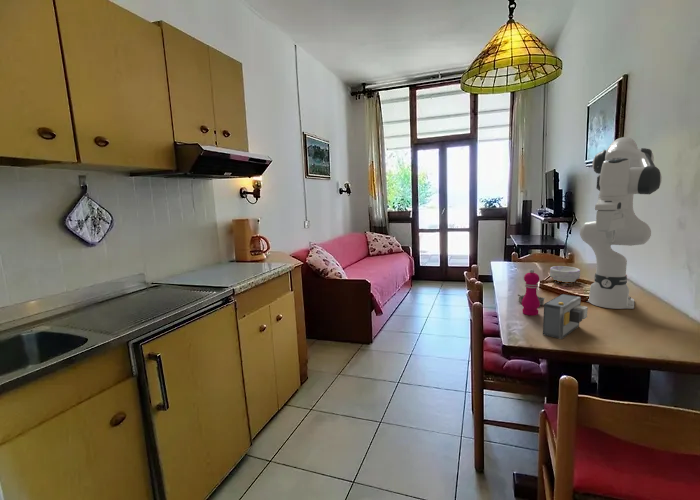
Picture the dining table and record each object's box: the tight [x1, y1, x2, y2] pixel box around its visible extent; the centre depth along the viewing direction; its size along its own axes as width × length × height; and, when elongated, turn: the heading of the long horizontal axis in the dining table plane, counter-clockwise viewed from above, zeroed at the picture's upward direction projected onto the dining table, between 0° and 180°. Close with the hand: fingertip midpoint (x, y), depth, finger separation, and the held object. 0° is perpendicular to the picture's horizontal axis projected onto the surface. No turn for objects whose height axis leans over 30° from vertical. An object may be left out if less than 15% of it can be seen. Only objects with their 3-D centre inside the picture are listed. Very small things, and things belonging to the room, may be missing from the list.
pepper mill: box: [521, 268, 541, 317], centre depth 157 cm, size 7×7×20 cm
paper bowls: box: [549, 265, 581, 283], centre depth 210 cm, size 15×15×8 cm
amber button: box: [564, 312, 570, 325], centre depth 133 cm, size 4×4×4 cm
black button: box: [569, 308, 583, 324], centre depth 134 cm, size 4×4×4 cm
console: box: [542, 293, 582, 340], centre depth 137 cm, size 18×6×13 cm, turn 130°
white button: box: [575, 305, 589, 320], centre depth 138 cm, size 4×4×4 cm
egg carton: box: [517, 293, 546, 306], centre depth 173 cm, size 11×8×4 cm
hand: (610, 242), depth 131 cm, fingers closed
